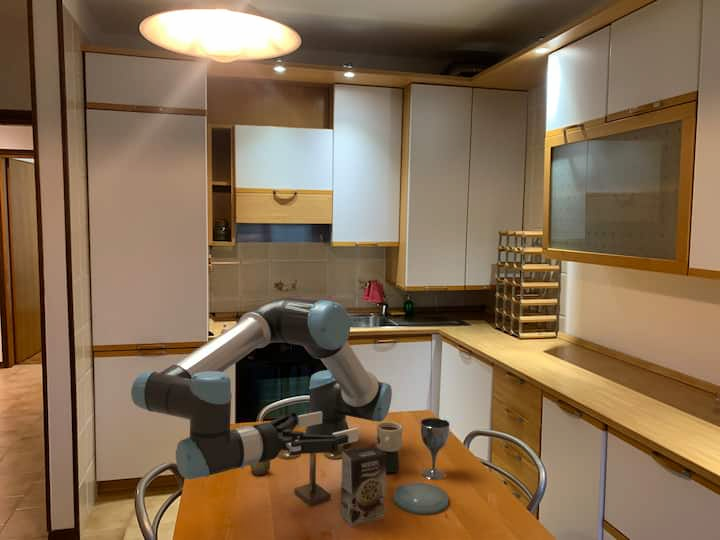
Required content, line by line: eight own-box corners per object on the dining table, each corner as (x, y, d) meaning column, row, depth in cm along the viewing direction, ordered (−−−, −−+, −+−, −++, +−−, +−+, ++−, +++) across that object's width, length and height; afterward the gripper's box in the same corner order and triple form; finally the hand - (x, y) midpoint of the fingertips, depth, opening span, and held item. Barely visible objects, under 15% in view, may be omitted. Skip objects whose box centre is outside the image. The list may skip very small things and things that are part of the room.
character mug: (379, 461, 166) (380, 418, 165) (403, 463, 165) (404, 420, 164) (372, 477, 156) (373, 431, 154) (398, 480, 154) (399, 434, 153)
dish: (382, 496, 145) (382, 491, 145) (422, 482, 153) (422, 477, 153) (418, 520, 134) (419, 515, 134) (460, 503, 142) (460, 498, 142)
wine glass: (446, 482, 154) (448, 429, 152) (417, 478, 155) (419, 426, 154) (448, 469, 161) (450, 419, 160) (420, 466, 163) (422, 416, 162)
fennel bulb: (246, 472, 157) (246, 430, 156) (260, 466, 161) (260, 426, 160) (259, 478, 153) (259, 436, 152) (273, 473, 157) (273, 431, 156)
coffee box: (351, 527, 130) (353, 460, 129) (339, 514, 136) (340, 450, 134) (385, 518, 134) (387, 453, 133) (372, 506, 140) (374, 443, 139)
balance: (270, 501, 141) (270, 433, 140) (336, 480, 153) (337, 418, 152) (285, 514, 135) (286, 444, 133) (353, 492, 147) (354, 427, 145)
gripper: (227, 443, 124) (307, 425, 138) (286, 484, 105) (373, 459, 118) (228, 410, 124) (308, 395, 137) (287, 445, 104) (374, 424, 118)
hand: (338, 425), depth 128 cm, fingers open, 13 cm apart
